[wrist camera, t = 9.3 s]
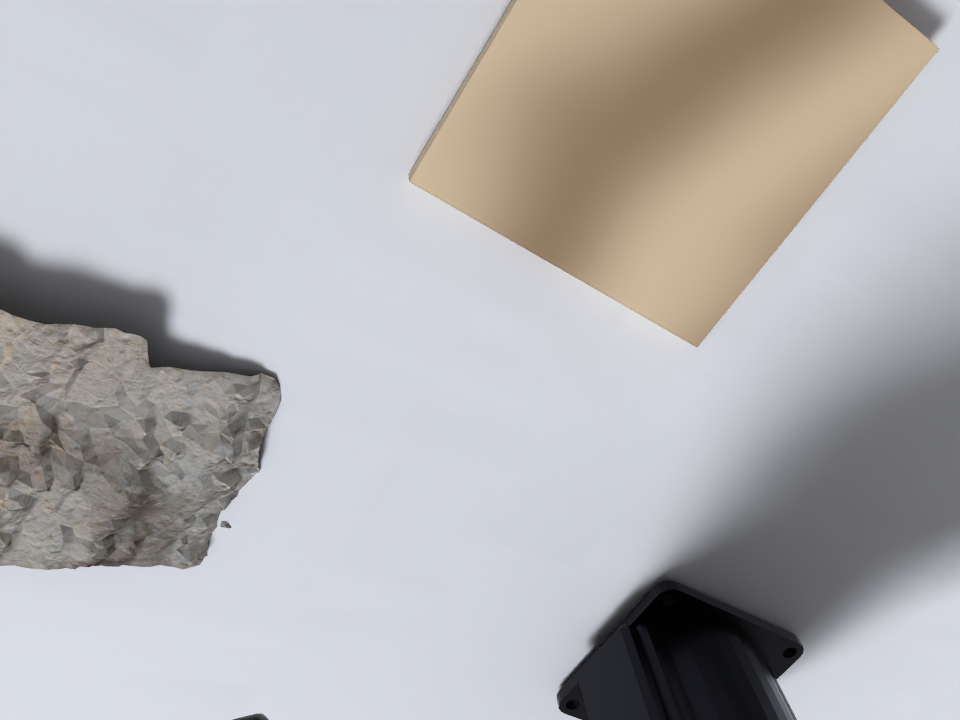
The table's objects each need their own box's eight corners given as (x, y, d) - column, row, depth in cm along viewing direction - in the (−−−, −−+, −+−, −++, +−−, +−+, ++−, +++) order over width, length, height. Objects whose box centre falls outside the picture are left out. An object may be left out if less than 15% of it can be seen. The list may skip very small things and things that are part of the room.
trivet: (924, 45, 20) (939, 48, 19) (689, 337, 23) (696, 347, 22) (631, -202, 17) (639, -206, 16) (408, 174, 20) (409, 181, 19)
